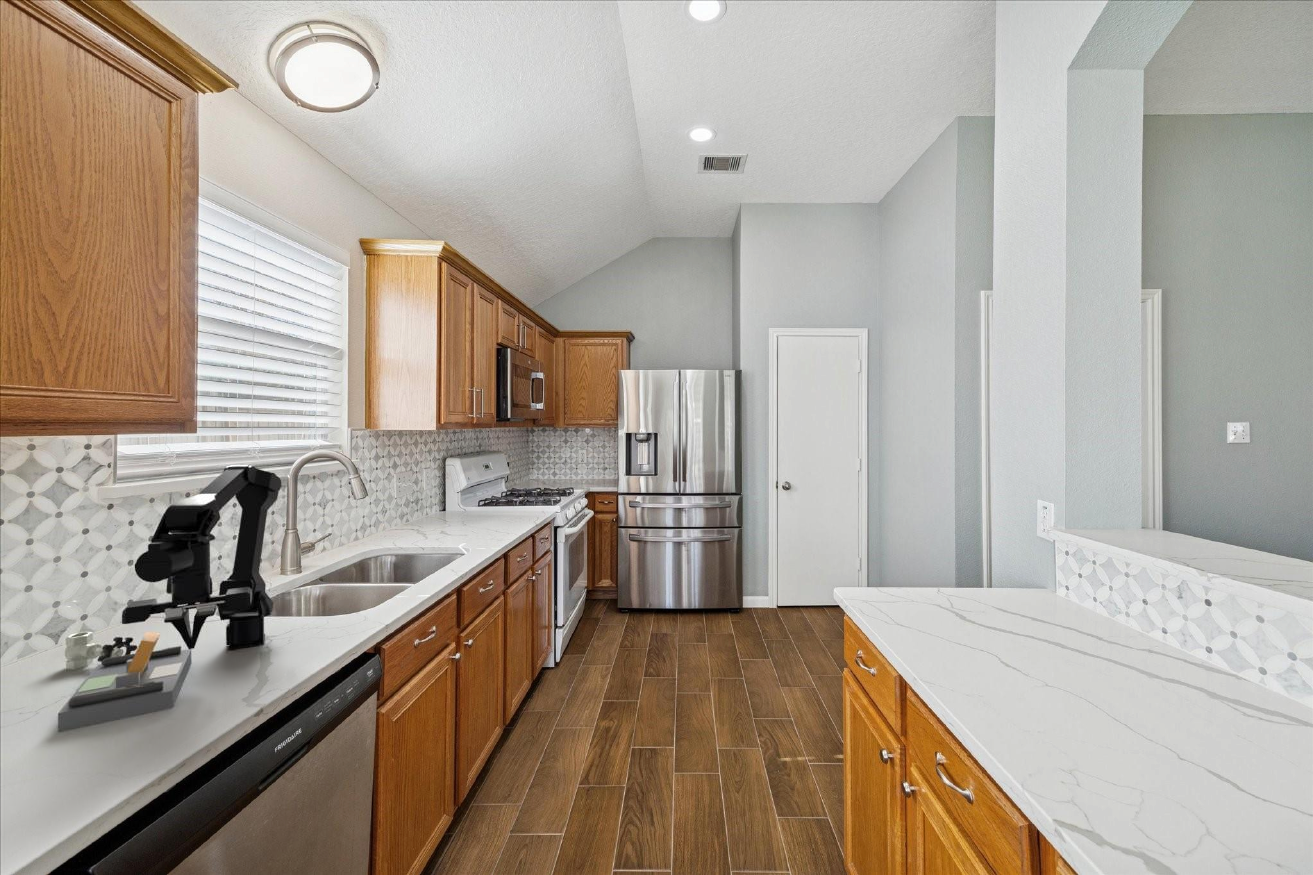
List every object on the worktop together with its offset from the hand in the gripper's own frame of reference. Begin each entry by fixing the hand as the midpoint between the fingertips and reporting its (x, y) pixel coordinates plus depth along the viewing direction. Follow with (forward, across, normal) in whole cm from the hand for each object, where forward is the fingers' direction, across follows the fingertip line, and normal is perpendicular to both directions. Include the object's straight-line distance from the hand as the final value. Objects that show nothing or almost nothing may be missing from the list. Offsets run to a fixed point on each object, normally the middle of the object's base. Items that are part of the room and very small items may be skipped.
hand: (191, 648), depth 106 cm
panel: (+6, +8, 0) cm, 11 cm away
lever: (+4, +8, 0) cm, 9 cm away
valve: (+7, +18, -20) cm, 27 cm away
